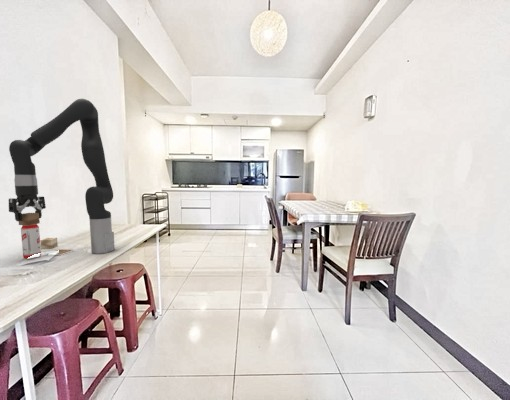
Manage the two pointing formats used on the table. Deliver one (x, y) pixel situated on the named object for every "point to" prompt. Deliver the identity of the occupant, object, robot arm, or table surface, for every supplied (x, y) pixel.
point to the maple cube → (48, 243)
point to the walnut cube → (29, 219)
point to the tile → (63, 251)
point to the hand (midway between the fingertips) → (29, 219)
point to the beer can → (30, 240)
